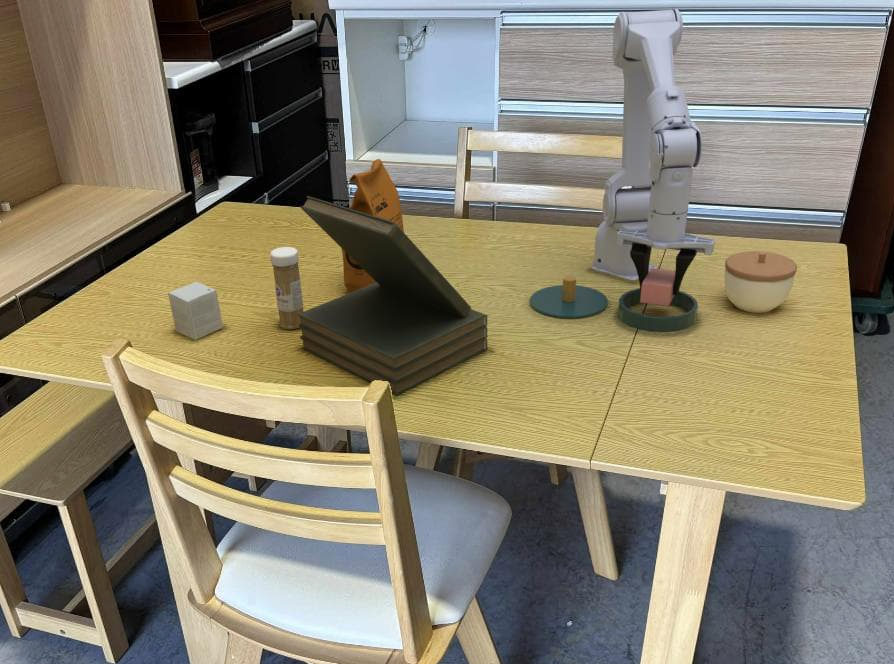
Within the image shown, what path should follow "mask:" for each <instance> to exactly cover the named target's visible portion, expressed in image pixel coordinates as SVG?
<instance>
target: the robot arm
mask: <svg viewBox="0 0 894 664" xmlns="http://www.w3.org/2000/svg"><path fill="white" fill-rule="evenodd" d="M683 21H684V20H683V16H682V13H681V12H680V10H679V9H678V8H672V9H661V10H647V11H632V12H626V11H620V12H619V14H618V15H617V16H616V18H615V21H614V25H613V33H612V36H613V37H612V60H613V66H614V67H617V68H619V69H621V70H622V75H623V105H622V106H623V109H622V111H623V112H622V142H621V143H622V144H621V145H622V147H621V168H620V169H619V170H617V172H615V173H614V174H613V175H611V176H610V177H609V178H608V179H607V181H605V184H604V194H603V199H602V215H603V216H602V217H603V221H602V222H601V223H600V225H599V226H598V228H597V231H596V234H595V238H594V251H593V252H594V254H593V266H591V267H590V268H591V269H592V270H596V271H600V272H603V273H605V274H610V275H613V276H616V277H621V278H623V279H627V280H631V281H636V280H638V282H639V288H640V291H641V288H642V282H643V281H644V279H645V278H646V276H647V274H648V273H649V271H650V270H651V268H655V269H659V267H658V266H656V265H652V264H650V261H651V254H652V248H653V249H655V250H673V251H679V252H678V253H677V255H676V256H675V269H674V271H675V280H674V285H673V295H677V294H678V292H679V291H680V289H681V285H682V282H683V279H684V277H685V275H686V272H687V270H688V268H689V267H690V266H691V264H692V262H693V261H694V259H695V258H696V255H697V254H698V253H700V254H703V255H705V256H712V255H713V253H714V249H715V243H716V239H715V238H708V237H702V236H698V235H695V234H691V233H686V228H687V219H688V212H689V205H690V204H689V203H690V196H691V188H692V180H693V172H694V169H693V168H697V167H698V166H699V164H700V161H701V159H702V152H703V151H702V150H703V139H702V133H701V130H700V128H699V127H698V126H697V125H696V122H695V121H691V117H690V116H691V115H690V112H689V106H688V101H687V97H686V93H685V91H684V90H683V88H681V87H679V86H677V85H676V84H677V83H676V72H675V61H674V55H675V54H677V52H678V51H677V50H678V47H679V46H680V44H681V42H682V38H683V37H682V36H683V30H684V23H683ZM642 186H643V187H642ZM644 186H645V187H644ZM625 187H626V188H625ZM627 187H628V188H627Z"/></svg>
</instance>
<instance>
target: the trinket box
mask: <svg viewBox="0 0 894 664" xmlns="http://www.w3.org/2000/svg"><path fill="white" fill-rule="evenodd" d="M724 263H725V265H724V277H723V282H724V283H723V284H724V291H725V295H726V296H727V298H728V300H729V301H730V302H731V303H732V304H733V305H734V306H735V308H737V309H739V310H741V311H744V312H747V313H757V314H761V313H767V312H768V313H769V312H770V311H773V310H774V309H775V308H778V307H779V306H780V305H782V304H783V303H784V301H786V299H788V298H787V297H789V294H790V293H791V291H792V287H793V284H794V281H795V276H796V273H797V269H798V265H797V263H796V261H794V260H793V259H792V258H790V257H788V256H786V255H782V254H779V253H775V252H771V251H760V250H759V251H757V250H754V251H753V250H751V251H749V250H748V251H741V252H737V253H734V254H731V255H729V256H728V257H727V258H726V259H725V262H724Z"/></svg>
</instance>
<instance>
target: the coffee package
mask: <svg viewBox="0 0 894 664" xmlns="http://www.w3.org/2000/svg"><path fill="white" fill-rule="evenodd" d="M349 182H350V183H355V186H356V190H355V191H354V195H353V198H352V202H351V205H350V207H348V208H349V209H353V210H356V211H359V212H362V213H366V214H369V215H372V216H376V217H379V218H382V219H386V220H389V221H392V222H395V223H396V224H397V225H398V227H399V228H400V229H401V230H402V231H403V232H404V233H405V228H404V219H403V211H402V205H401V199H400V196H399V191H398V190H397V186H396V185H395V182H394V181H393V180H392V178H391V175H390V174H389V172H388V170H387V168H386V167H385V166H384V164H383V161H382V159H381V158H376V159H375V160H373V161H372V163H371V165H370V170H367V171H363V172H358V173H354V174H352V175H351V177H349ZM341 252H342V253H341V254H342V264H343V265H342V266H343V285H344V287H345V289H346V290H347V292H348V293H351V292H353V291H356V290H358V289H361V288H363V287H366V286H368V285H371V284H373V283H376V281H375V280H374V279H373V278H372V277H371V276H370V275H369V274H368V273H367V272H366V271H365V270H364V269H363V268H362V267H360V266H359V265H358V264H357V263H356V262H355V261H354V260H353V259H352V258H351V257H350V256H349V255H348V254H347V253H346V252H345V251H344V250H343V249H342V248H341Z"/></svg>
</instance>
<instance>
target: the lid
mask: <svg viewBox="0 0 894 664" xmlns="http://www.w3.org/2000/svg"><path fill="white" fill-rule="evenodd" d="M529 304H530V306H531V308H532V309H533V310H534V311H536V312H537V313H539V314H541V315H543V316H547V317H550V318H555V319H563V320H564V319H566V320H575V319H585V318H589V317H594V316H596V315H599V314H601V313H602V312H604V311H605V310H606V309H607V307H608V298H607V296H606V295H605V293H603V292H602V291H599V290H597V289H594V288H592V287H588V286H583V285H578V284H577V277H576V276H574V275H564V276H563V278H562V284H561V285H559V284H558V285H552V286H547V287H543V288H540V289H538V290H536V291H535V292H534V293H532V295H531V296H530V299H529Z"/></svg>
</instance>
